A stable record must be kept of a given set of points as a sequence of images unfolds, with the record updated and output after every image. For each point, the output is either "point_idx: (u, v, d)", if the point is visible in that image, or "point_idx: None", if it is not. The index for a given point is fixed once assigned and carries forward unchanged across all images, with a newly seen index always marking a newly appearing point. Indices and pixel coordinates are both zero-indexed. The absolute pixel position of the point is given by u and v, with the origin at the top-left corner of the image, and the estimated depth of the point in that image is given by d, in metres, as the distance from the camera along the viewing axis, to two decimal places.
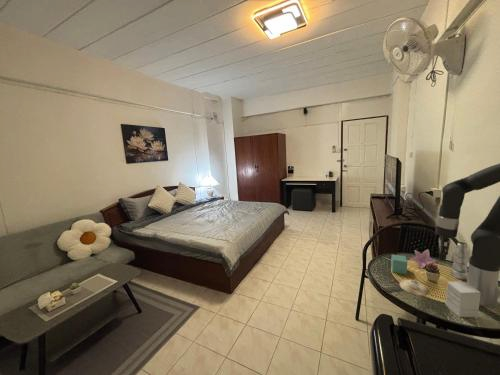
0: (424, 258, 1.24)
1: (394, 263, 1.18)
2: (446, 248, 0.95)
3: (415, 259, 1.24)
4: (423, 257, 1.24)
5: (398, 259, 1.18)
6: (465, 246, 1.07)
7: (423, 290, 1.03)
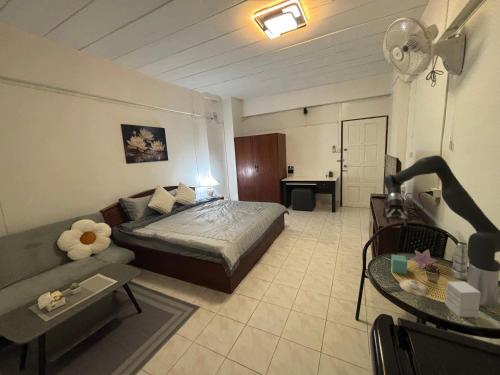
0: (424, 258, 1.24)
1: (394, 263, 1.18)
2: (383, 212, 1.33)
3: (416, 259, 1.24)
4: (424, 257, 1.24)
5: (398, 259, 1.18)
6: (465, 246, 1.07)
7: (423, 290, 1.03)
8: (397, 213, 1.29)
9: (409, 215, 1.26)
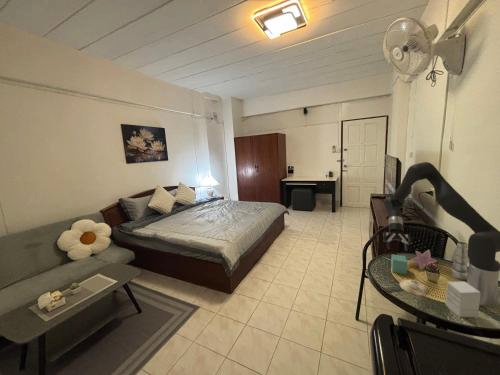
0: (425, 258, 1.23)
1: (394, 263, 1.18)
2: (383, 235, 1.32)
3: (416, 259, 1.23)
4: (424, 257, 1.23)
5: (398, 259, 1.18)
6: (465, 246, 1.07)
7: (423, 290, 1.03)
8: (398, 237, 1.27)
9: (410, 240, 1.24)
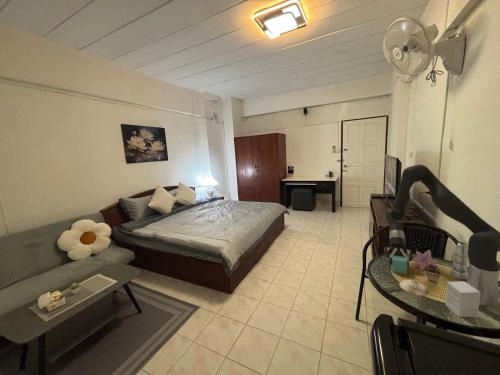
0: (426, 259, 1.23)
1: (394, 263, 1.18)
2: (385, 251, 1.25)
3: (417, 259, 1.23)
4: (425, 258, 1.23)
5: (398, 259, 1.18)
6: (465, 246, 1.07)
7: (423, 290, 1.03)
8: (399, 253, 1.22)
9: (411, 257, 1.18)
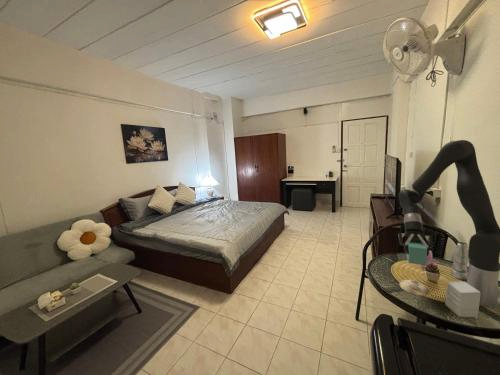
0: (427, 259, 1.22)
1: (411, 251, 1.01)
2: (399, 238, 1.08)
3: None
4: (426, 258, 1.23)
5: (416, 246, 1.01)
6: (465, 246, 1.07)
7: (423, 290, 1.03)
8: (416, 239, 1.04)
9: (431, 243, 1.01)
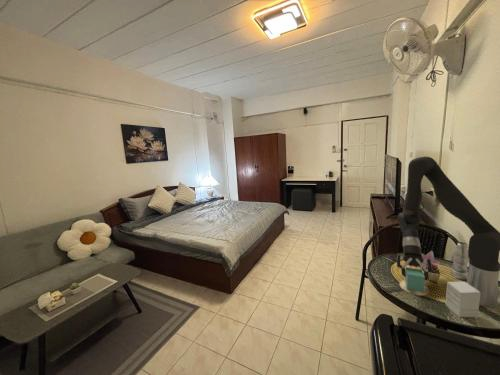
0: None
1: (409, 278, 1.04)
2: (397, 260, 1.11)
3: None
4: None
5: (414, 273, 1.04)
6: (465, 246, 1.07)
7: None
8: (415, 263, 1.07)
9: (430, 267, 1.03)
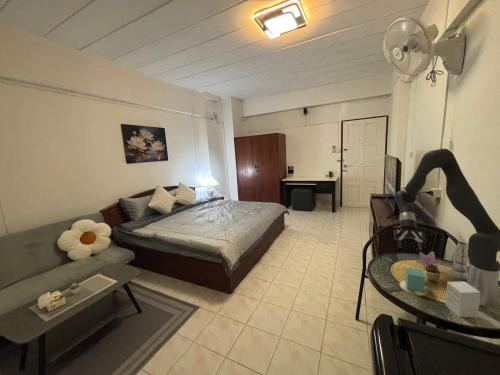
0: (429, 260, 1.21)
1: (409, 278, 1.04)
2: (394, 233, 1.20)
3: (421, 261, 1.21)
4: (429, 259, 1.21)
5: (414, 273, 1.04)
6: (465, 246, 1.07)
7: None
8: (411, 235, 1.16)
9: (424, 238, 1.13)
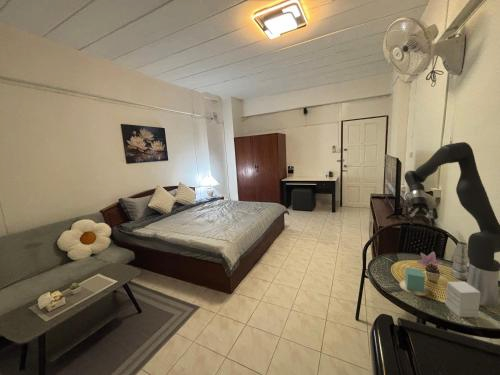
0: (430, 261, 1.21)
1: (409, 278, 1.04)
2: (405, 211, 1.21)
3: (422, 262, 1.21)
4: (430, 259, 1.21)
5: (414, 273, 1.04)
6: (465, 246, 1.07)
7: None
8: (422, 212, 1.17)
9: (436, 214, 1.14)
